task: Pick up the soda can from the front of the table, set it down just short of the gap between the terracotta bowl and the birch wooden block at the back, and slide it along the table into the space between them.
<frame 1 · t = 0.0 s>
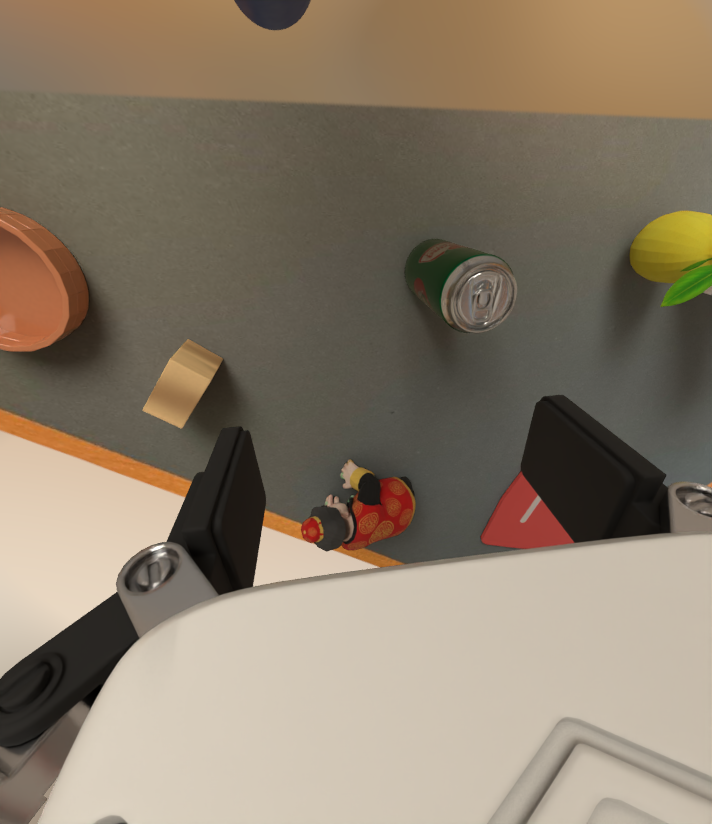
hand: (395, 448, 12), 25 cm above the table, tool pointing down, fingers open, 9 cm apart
desk lamp: (551, 503, 51), on the table
wooden block: (192, 372, 35), on the table
figurine: (356, 481, 45), on the table
soda can: (429, 268, 33), on the table
lemon: (637, 245, 33), on the table
terracotta bowl: (17, 278, 29), on the table
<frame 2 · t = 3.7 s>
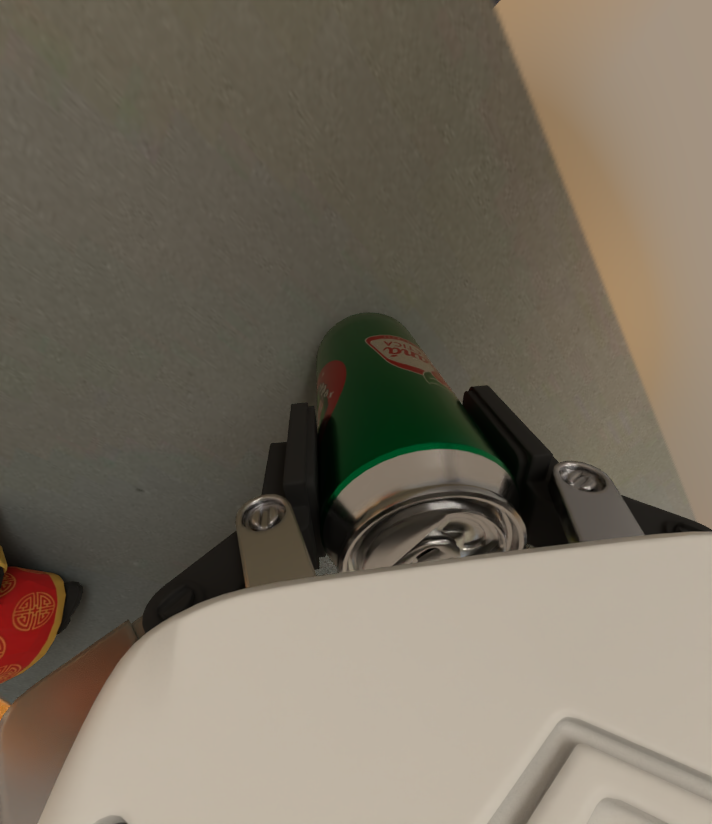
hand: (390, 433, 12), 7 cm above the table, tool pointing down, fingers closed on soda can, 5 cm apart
soda can: (365, 357, 18), on the table, touching gripper
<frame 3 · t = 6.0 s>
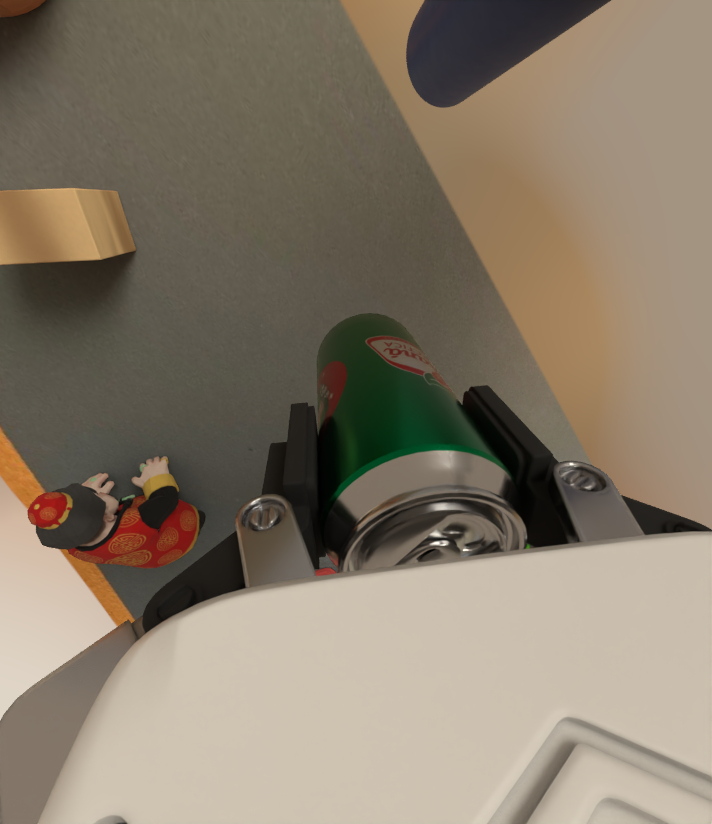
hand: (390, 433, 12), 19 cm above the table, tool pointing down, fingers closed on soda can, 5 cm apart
wooden block: (81, 223, 24), on the table
figurine: (149, 481, 36), on the table
soda can: (365, 357, 18), point 12 cm above the table, touching gripper
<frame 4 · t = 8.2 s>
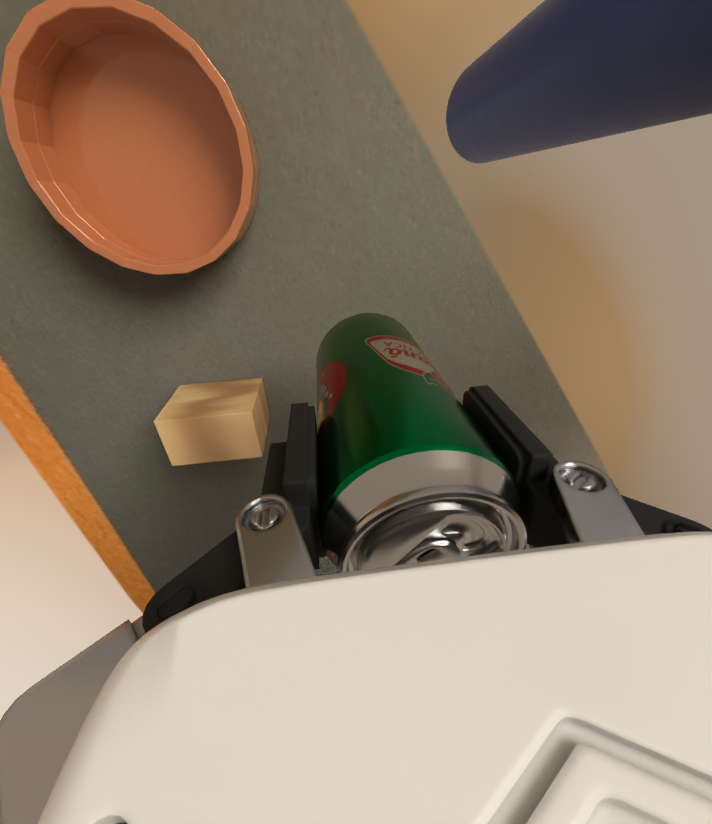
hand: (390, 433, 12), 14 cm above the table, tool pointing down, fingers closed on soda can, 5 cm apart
wooden block: (226, 402, 27), on the table
soda can: (365, 357, 18), point 7 cm above the table, touching gripper
terracotta bowl: (159, 161, 19), on the table
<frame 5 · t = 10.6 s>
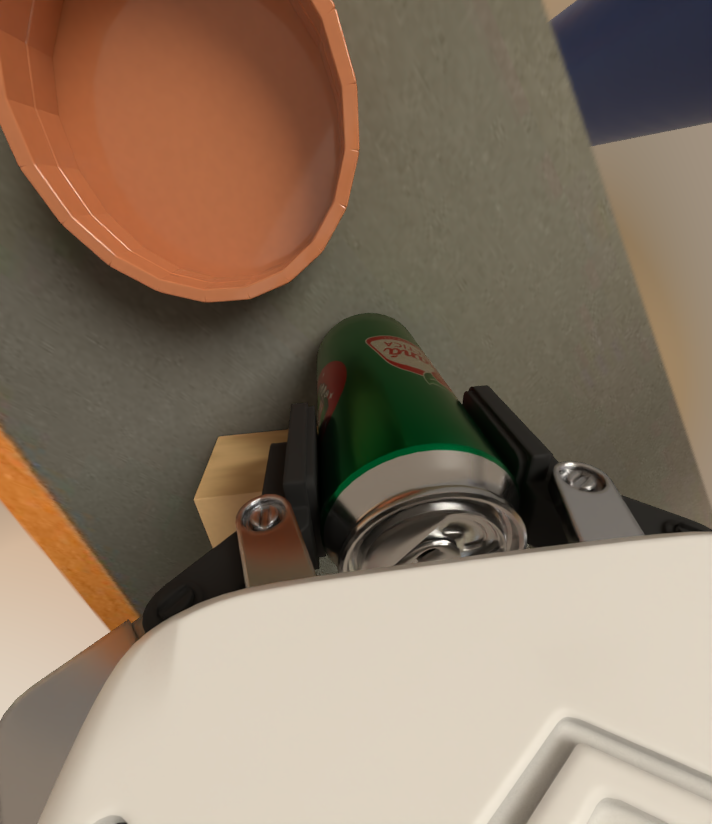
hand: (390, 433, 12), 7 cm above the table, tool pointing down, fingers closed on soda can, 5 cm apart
wooden block: (276, 455, 21), on the table
soda can: (365, 357, 18), on the table, touching gripper
terracotta bowl: (210, 140, 13), on the table
when the fingers open (7 cm above the table, at t = 12.6 s): soda can stays where it is, on the table.
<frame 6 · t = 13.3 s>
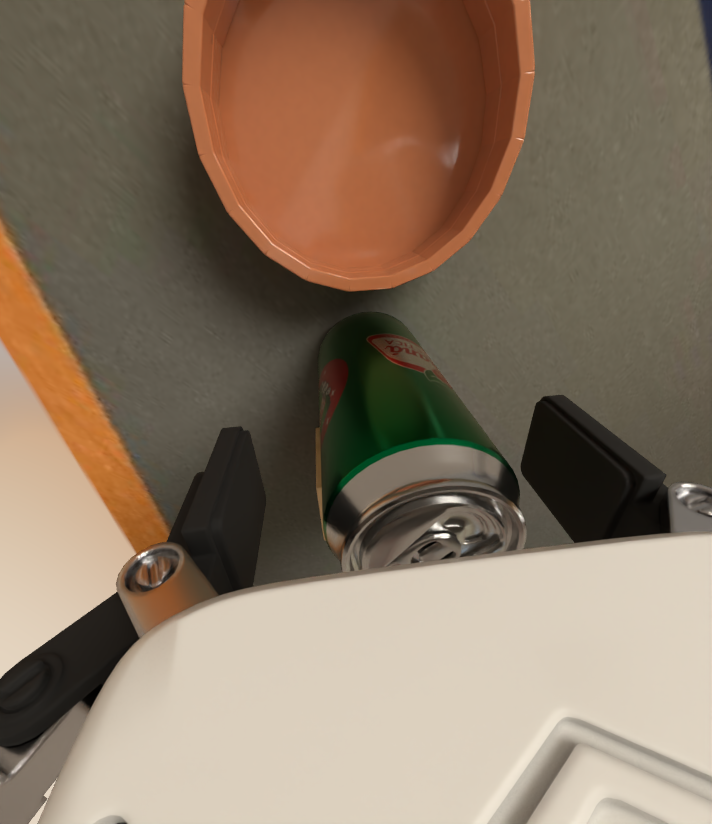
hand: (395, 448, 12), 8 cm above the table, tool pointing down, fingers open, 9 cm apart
wooden block: (368, 447, 21), on the table
soda can: (366, 356, 18), on the table
terracotta bowl: (355, 130, 13), on the table
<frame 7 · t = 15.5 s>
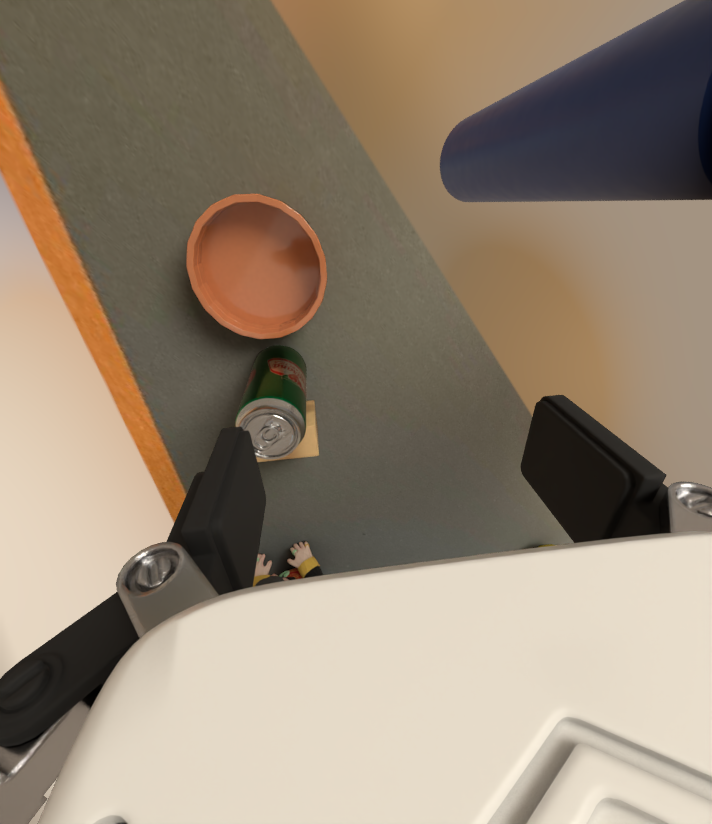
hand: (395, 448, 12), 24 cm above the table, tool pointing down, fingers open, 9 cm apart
wooden block: (288, 417, 38), on the table
figurine: (289, 556, 50), on the table
soda can: (280, 366, 35), on the table
terracotta bowl: (262, 267, 30), on the table
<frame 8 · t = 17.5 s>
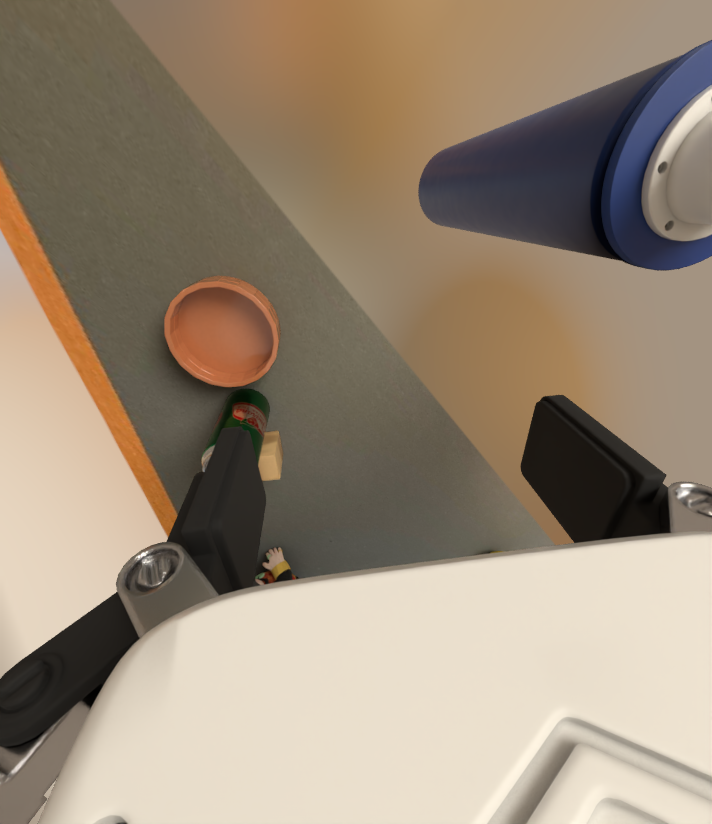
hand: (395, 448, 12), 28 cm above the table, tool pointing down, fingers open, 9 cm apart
wooden block: (257, 444, 45), on the table
figurine: (266, 560, 57), on the table
soda can: (248, 404, 42), on the table
terracotta bowl: (229, 329, 37), on the table
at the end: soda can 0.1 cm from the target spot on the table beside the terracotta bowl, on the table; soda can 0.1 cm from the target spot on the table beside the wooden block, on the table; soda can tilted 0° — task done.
